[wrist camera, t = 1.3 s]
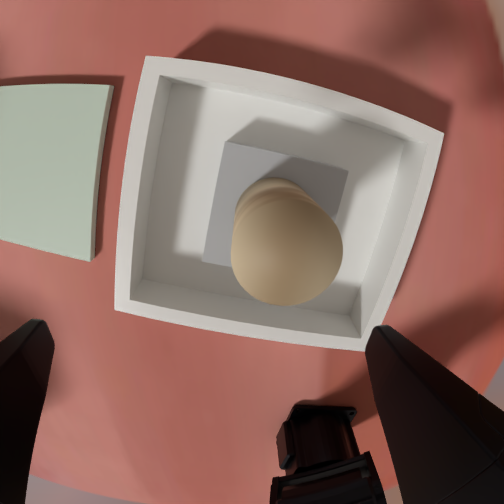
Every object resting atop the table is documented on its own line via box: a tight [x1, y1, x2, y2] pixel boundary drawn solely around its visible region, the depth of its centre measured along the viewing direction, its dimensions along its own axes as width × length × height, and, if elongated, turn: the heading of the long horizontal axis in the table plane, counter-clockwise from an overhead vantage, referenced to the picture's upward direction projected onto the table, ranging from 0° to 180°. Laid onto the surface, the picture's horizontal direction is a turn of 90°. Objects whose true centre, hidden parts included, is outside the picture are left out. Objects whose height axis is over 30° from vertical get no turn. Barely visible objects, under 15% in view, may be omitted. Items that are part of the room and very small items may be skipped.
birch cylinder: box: [231, 177, 343, 306], centre depth 15 cm, size 4×4×6 cm
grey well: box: [115, 56, 444, 351], centre depth 19 cm, size 17×15×4 cm
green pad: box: [0, 84, 114, 262], centre depth 18 cm, size 12×12×1 cm
